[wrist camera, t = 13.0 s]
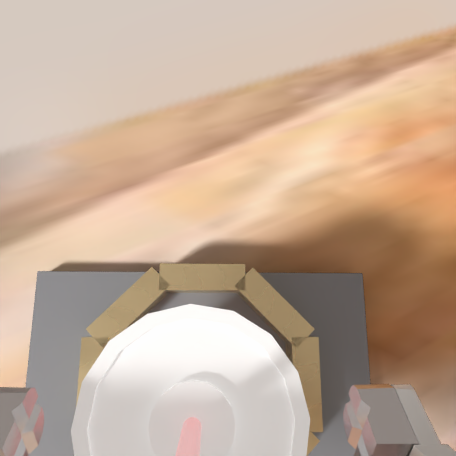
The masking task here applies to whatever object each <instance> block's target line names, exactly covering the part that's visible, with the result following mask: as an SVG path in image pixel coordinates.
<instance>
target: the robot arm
mask: <svg viewBox="0 0 456 456" xmlns="http://www.w3.org/2000/svg"><path fill="white" fill-rule="evenodd" d="M349 396H350V401H349V402H348V403H346V404H345V408H344V412H343V421H344V429H345V434H346V437H347V441H348V442H349V443H350V444H351V445H352V446H353V447H354V448H355V449H356V450H355V453H354V456H456V451H454V450H453V449H452V448H451V447H450V446H449V445H447V444H441V442H440V440H439V438H438V436H437V434H436V432H435V430H434V428H433V426H432V424H431V422H430V420H429V418H428V416H427V414H426V412H425V410H424V408H423V406H422V404H421V402H420V400H419V398H418V396H417V393H416V391H415V389H414V388H413V387H412V386H411V385H409V384H396V385H390V384H367V385H353V386H351V388H350V391H349ZM37 398H38V394H37V391H36V389H35V388H21V387H0V456H29V454H30V453H31V452H32V451H33V450H34V449H35V448H36V447H37V446H38V445H39V442H40V439H41V436H42V432H43V426H44V412H43V409H42V407H41V406H40V405H38V404H37V403H36V400H37Z"/></svg>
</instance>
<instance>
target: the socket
mask: <svg viewBox="0 0 456 456" xmlns="http://www.w3.org/2000/svg"><path fill="white" fill-rule="evenodd" d="M168 293H237V294H238V295H239V296H240V297H241V298H242V299H243V300H244V301H245V302H246V303H247V304H248V305H249V306H250V307H251V308H252V309H253V310H254V311H255V312H256V313H257V314H258V315H259V316H260V317H261V318H262V319H263V320H264V321H265V322H266V323H267V324H268V325H269V326H270V327H271V328H272V329H273V330H274V331H275V332H276V333H277V334H278V335H279V336H280V337H281V339H282V340H283V341H284V342H285V344H286V356H287V357H288V359H289V360H290V361H291V363H292V364H293V366H294V367H295V368H296V370H297V371H298V373H299V377H300V381H301V385H302V389H303V393H304V396H305V400H306V404H307V408H308V412H309V416H310V427H309V436H308V446H307V455H306V456H308V454H309V453H310V452H311V451H312V450H313V449H314V447H315V446H316V445H317V444H318V443H319V442H320V440H319V439H318V438H317V437H316V436H315V435H314V434H313V433H312V432H323V422H322V400H321V379H320V358H319V337H314V336H309V335H310V334H311V333H312V332H313V331H314V330H315V329H314V328H313V327H312V326H311V325H310V324H309V323H308V322H307V321H306V320H305V319H304V318H303V317H302V316H301V315H300V314H299V313H298V312H297V311H296V310H295V309H294V308H293V307H292V306H291V305H290V304H289V303H288V302H287V301H286V300H285V299H284V298H283V297H282V296H281V295H280V294H279V293H278V292H277V291H276V290H275V289H274V288H273V287H272V286H271V285H270V284H269V283H268V282H267V281H266V280H265V279H264V278H263V277H262V276H261V275H260V274H259V273H258V272H257V271H256V270H255V269H254V268H253V267H252V268H251V269H250V271H249V272H248V273H247V274H246V275H245V264H165V263H160V269H159V273H158V272H157V271H156V270H155V269H154V268H153V267H151V268H150V269H149V270H148V271H147V272H146V273H145V274H144V275H143V276H141V277H140V278H139V279H138V280H137V281H136V282H135V283H134V284H133V285H132V286H131V287H130V288H129V289H128V290H127V291H126V292H124V293H123V294H122V295H121V296H120V297H119V298H118V299H117V300H116V301H115V302H114V303H113V304H112V305H111V306H110V307H109V308H107V309H106V310H105V311H104V312H103V313H102V314H101V315H100V316H99V317H98V318H97V319H96V320H95V321H94V322H93V323H92V324H91V325H89V326H88V327H87V328H86V330H87V331H88V332H89V333H90V335H91V336H89V337H82V338H81V351H80V364H79V377H78V390H77V402H78V397H79V393H80V388H81V384H82V381H83V379H84V378H85V376H86V375H87V373H88V372H89V370H90V369H91V367H92V366H93V364H94V363H95V361H96V360H97V358H98V357H99V355H100V354H101V352H102V351H103V349H104V348H105V346H106V345H107V343H108V342H109V341H110V340H111V339H112V338H114V337H115V336H117V335H118V334H120V333H121V332H122V331H124V330H125V329H127V328H128V327H129V326H131V325H132V324H134V323H135V322H136V321H138V320H139V319H141V318H142V317H144V316H145V315H146V314H147V313H148V312H149V311H150V310H151V309H152V308H153V307H154V306H155V305H156V304H157V303H159V302H160V301H161V300H162V299H163V298H164V297H165V296H166V295H167V294H168ZM76 406H77V403H76Z"/></svg>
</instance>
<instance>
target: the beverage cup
mask: <svg viewBox="0 0 456 456" xmlns="http://www.w3.org/2000/svg"><path fill="white" fill-rule="evenodd" d="M309 427H310V416H309V412H308V408H307V404H306V400H305V396H304V393H303V389H302V385H301V381H300V377H299V373H298V371H297V370H296V368H295V367H294V366H293V364H292V363H291V361H290V360H289V359H288V357H287V356H286V354H285V353H284V352H283V350H282V349H281V347H280V346H279V345H278V343H277V342H276V341H275V339H274V338H273V336H272V335H271V334H269V333H268V332H266V331H265V330H263V329H262V328H260V327H258V326H257V325H255V324H254V323H252V322H250V321H249V320H247V319H246V318H244V317H243V316H241V315H239V314H238V313H236V312H235V311H231V310H225V309H219V308H213V307H207V306H201V305H195V304H187V305H183V306H179V307H175V308H170V309H166V310H162V311H158V312H153V313H149V314H146V315H145V316H144V317H142V318H141V319H139V320H138V321H136V322H135V323H134V324H132V325H131V326H129V327H128V328H127V329H125V330H124V331H122V332H121V333H120V334H118V335H117V336H115V337H114V338H112V339H111V340H110V341H109V342H108V343H107V345H106V346H105V348H104V349H103V351H102V352H101V354H100V355H99V357H98V358H97V360H96V361H95V363H94V364H93V366H92V367H91V369H90V370H89V372H88V373H87V375H86V376H85V378H84V379H83V381H82V384H81V388H80V393H79V397H78V402H77V406H76V410H75V415H74V419H73V423H72V428H71V436H72V443H73V450H74V456H306V455H307V446H308V436H309Z"/></svg>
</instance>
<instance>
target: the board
mask: <svg viewBox="0 0 456 456" xmlns="http://www.w3.org/2000/svg"><path fill="white" fill-rule="evenodd" d="M145 273H146V272H65V271H38V273H37V282H36V292H35V302H34V311H33V321H32V331H31V340H30V350H29V360H28V369H27V379H26V388H35V389H36V391H37V394H38V398H37V400H36V403H37V404H38V405H40V406H41V407H42V409H43V412H44V426H43V432H42V436H41V439H40V442H39V445H38V446H37V447H36V448H35V449H34V450H33V451H32V452H31V453H30V454H29V456H74V450H73V443H72V436H71V428H72V423H73V419H74V415H75V410H76V403H77V390H78V377H79V364H80V351H81V338H82V337H89V336H91V335H90V333H89V332H88V331H87V330H86V328H87V327H88V326H89V325H91V324H92V323H93V322H94V321H95V320H96V319H97V318H98V317H99V316H100V315H101V314H102V313H103V312H104V311H105V310H106V309H107V308H109V307H110V306H111V305H112V304H113V303H114V302H115V301H116V300H117V299H118V298H119V297H120V296H121V295H122V294H123V293H124V292H126V291H127V290H128V289H129V288H130V287H131V286H132V285H133V284H134V283H135V282H136V281H137V280H138V279H139V278H140V277H141V276H143V275H144V274H145ZM158 273H159V272H158ZM246 274H247V273H245V275H246ZM259 274H260V275H261V276H262V277H263V278H264V279H265V280H266V281H267V282H268V283H269V284H270V285H271V286H272V287H273V288H274V289H275V290H276V291H277V292H278V293H279V294H280V295H281V296H282V297H283V298H284V299H285V300H286V301H287V302H288V303H289V304H290V305H291V306H292V307H293V308H294V309H295V310H296V311H297V312H298V313H299V314H300V315H301V316H302V317H303V318H304V319H305V320H306V321H307V322H308V323H309V324H310V325H311V326H312V327H313V328H314V329H315V330H314V331H313V332H312V333H311V334H310V335H309V336H314V337H319V358H320V379H321V400H322V422H323V432H312V433H313V434H314V435H315V436H316V437H317V438H318V439H319V440H320V442H319V443H318V444H317V445H316V446H315V447H314V449H313V450H312V451H311V452H310V453H309V454H308V456H354V453H355V450H356V449H355V448H354V447H353V446H352V445H351V444H350V443H349V442H348V441H347V437H346V434H345V429H344V421H343V412H344V408H345V404H346V403H348V402H349V401H350V396H349V391H350V388H351V386H353V385H367V384H370V371H369V357H368V344H367V330H366V316H365V302H364V288H363V275H362V273H259ZM187 304H195V305H201V306H207V307H213V308H219V309H225V310H231V311H235V312H236V313H238V314H239V315H241V316H243V317H244V318H246V319H247V320H249V321H250V322H252V323H254V324H255V325H257V326H258V327H260V328H262V329H263V330H265V331H266V332H268V333H269V334H271V335H272V336H273V338H274V339H275V341H276V342H277V343H278V345H279V346H280V347H281V349H282V350H283V352H284V353H285V354H286V344H285V342H284V341H283V340H282V339H281V337H280V336H279V335H278V334H277V333H276V332H275V331H274V330H273V329H272V328H271V327H270V326H269V325H268V324H267V323H266V322H265V321H264V320H263V319H262V318H261V317H260V316H259V315H258V314H257V313H256V312H255V311H254V310H253V309H252V308H251V307H250V306H249V305H248V304H247V303H246V302H245V301H244V300H243V299H242V298H241V297H240V296H239V295H238V294H237V293H168V294H167V295H166V296H165V297H164V298H163V299H162V300H161V301H160V302H159V303H157V304H156V305H155V306H154V307H153V308H152V309H151V310H150V311H149V312H148V313H147V314H149V313H153V312H158V311H162V310H166V309H170V308H175V307H179V306H183V305H187Z"/></svg>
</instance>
